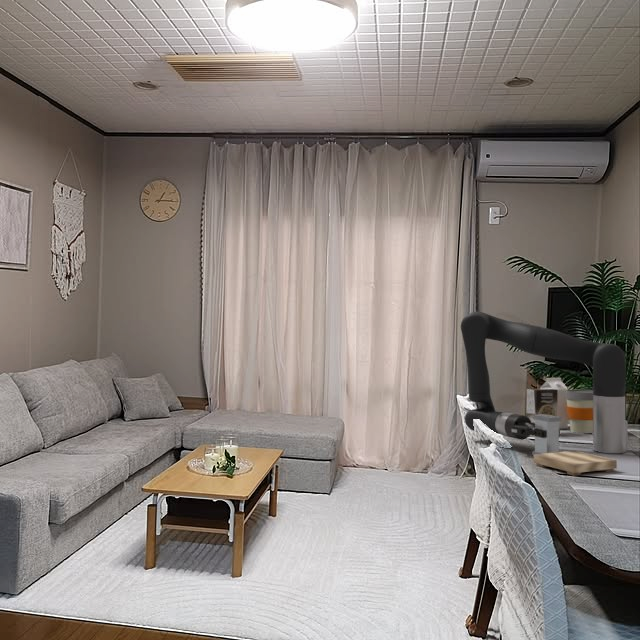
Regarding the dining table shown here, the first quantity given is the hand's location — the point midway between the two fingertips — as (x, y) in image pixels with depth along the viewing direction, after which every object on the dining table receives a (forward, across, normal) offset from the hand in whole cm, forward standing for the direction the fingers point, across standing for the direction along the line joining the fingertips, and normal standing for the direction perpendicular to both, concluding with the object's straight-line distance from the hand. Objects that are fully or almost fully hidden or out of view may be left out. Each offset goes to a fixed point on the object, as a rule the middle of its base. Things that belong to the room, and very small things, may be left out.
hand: (552, 433), depth 200 cm
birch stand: (+13, -4, +7) cm, 15 cm away
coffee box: (-37, +30, +8) cm, 48 cm away
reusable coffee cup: (-34, +47, +8) cm, 59 cm away
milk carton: (-46, +44, +8) cm, 64 cm away
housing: (-2, 0, +7) cm, 7 cm away
